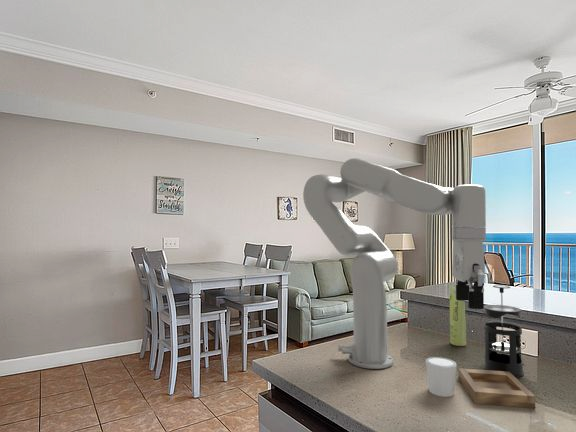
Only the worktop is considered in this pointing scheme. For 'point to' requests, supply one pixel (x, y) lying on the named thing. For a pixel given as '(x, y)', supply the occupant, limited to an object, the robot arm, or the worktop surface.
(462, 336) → the tube
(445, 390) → the white tapered cylinder
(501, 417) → the worktop surface
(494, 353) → the french press
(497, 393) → the tray
